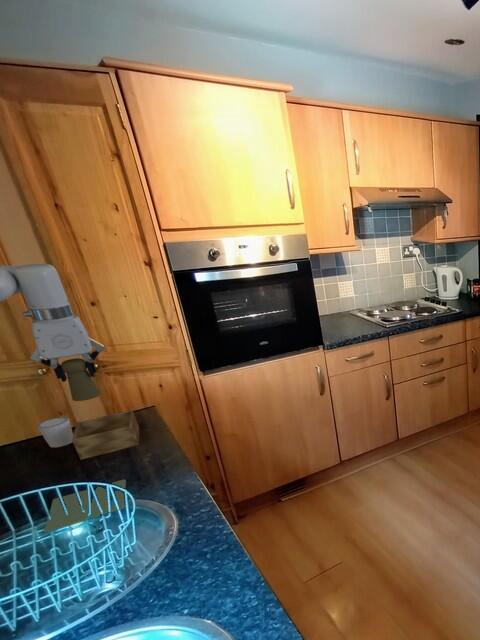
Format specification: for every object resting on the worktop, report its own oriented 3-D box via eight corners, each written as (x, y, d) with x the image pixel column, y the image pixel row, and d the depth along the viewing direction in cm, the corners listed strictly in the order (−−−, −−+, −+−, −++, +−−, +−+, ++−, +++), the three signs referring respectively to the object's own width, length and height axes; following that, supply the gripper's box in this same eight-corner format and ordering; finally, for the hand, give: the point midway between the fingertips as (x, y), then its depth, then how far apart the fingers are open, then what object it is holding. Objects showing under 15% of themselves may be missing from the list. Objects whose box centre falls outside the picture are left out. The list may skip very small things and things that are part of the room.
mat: (45, 533, 101) (44, 531, 101) (54, 501, 111) (53, 499, 111) (124, 508, 109) (123, 506, 109) (126, 480, 119) (125, 478, 119)
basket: (80, 459, 128) (71, 440, 126) (85, 440, 138) (77, 422, 135) (138, 445, 135) (131, 426, 133) (139, 427, 145) (132, 410, 142)
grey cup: (48, 451, 132) (38, 430, 129) (45, 443, 136) (35, 422, 133) (79, 442, 137) (70, 421, 134) (75, 434, 141) (66, 414, 138)
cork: (99, 390, 130) (85, 354, 126) (102, 396, 126) (87, 359, 122) (71, 396, 126) (55, 359, 122) (73, 403, 122) (57, 365, 118)
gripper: (2, 321, 109) (34, 389, 117) (95, 311, 119) (118, 374, 126) (8, 315, 115) (38, 380, 122) (96, 305, 124) (119, 367, 132)
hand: (78, 377), depth 124 cm, fingers closed on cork, 5 cm apart
